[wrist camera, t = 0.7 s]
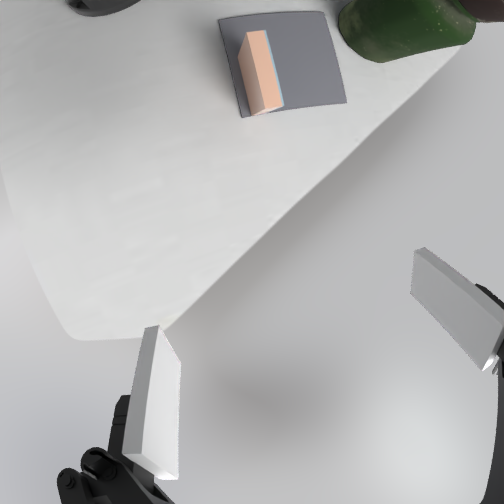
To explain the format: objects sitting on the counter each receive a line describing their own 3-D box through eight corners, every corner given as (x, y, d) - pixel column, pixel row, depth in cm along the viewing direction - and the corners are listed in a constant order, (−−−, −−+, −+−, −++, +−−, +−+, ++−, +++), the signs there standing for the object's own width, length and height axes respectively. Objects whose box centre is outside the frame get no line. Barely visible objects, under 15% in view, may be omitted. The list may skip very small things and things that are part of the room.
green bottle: (329, 41, 28) (464, -29, 5) (345, -7, 24) (457, -79, 2) (390, 75, 30) (537, 62, 8) (402, 27, 27) (527, -4, 4)
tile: (237, 57, 27) (246, 32, 19) (252, 54, 28) (265, 30, 19) (251, 115, 31) (265, 108, 23) (266, 113, 31) (284, 105, 23)
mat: (218, 21, 25) (218, 19, 25) (322, 13, 26) (323, 12, 25) (242, 117, 31) (242, 117, 31) (345, 103, 32) (347, 103, 31)
